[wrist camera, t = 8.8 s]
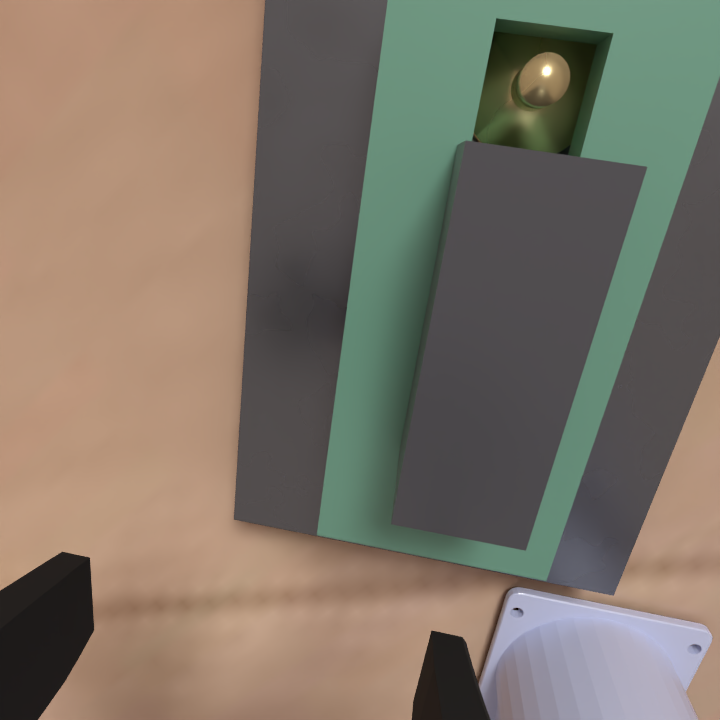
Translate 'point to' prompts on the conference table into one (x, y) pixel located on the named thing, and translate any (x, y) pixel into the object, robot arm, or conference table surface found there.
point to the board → (404, 215)
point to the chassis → (335, 260)
